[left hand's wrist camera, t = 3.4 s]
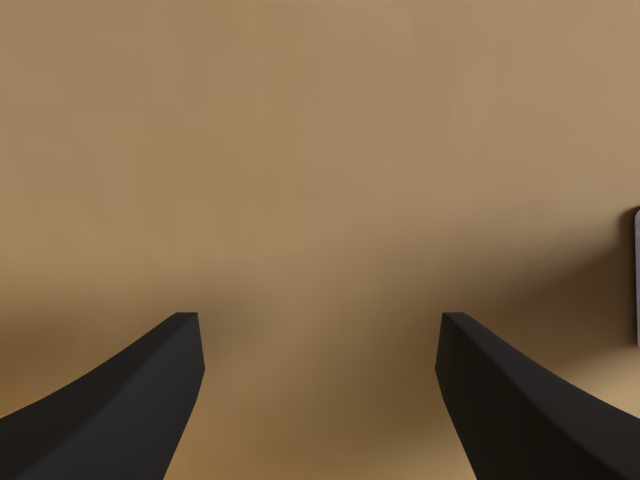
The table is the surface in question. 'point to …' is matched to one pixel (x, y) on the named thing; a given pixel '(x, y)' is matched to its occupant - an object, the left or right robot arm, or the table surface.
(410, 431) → the table surface
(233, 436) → the table surface
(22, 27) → the table surface
